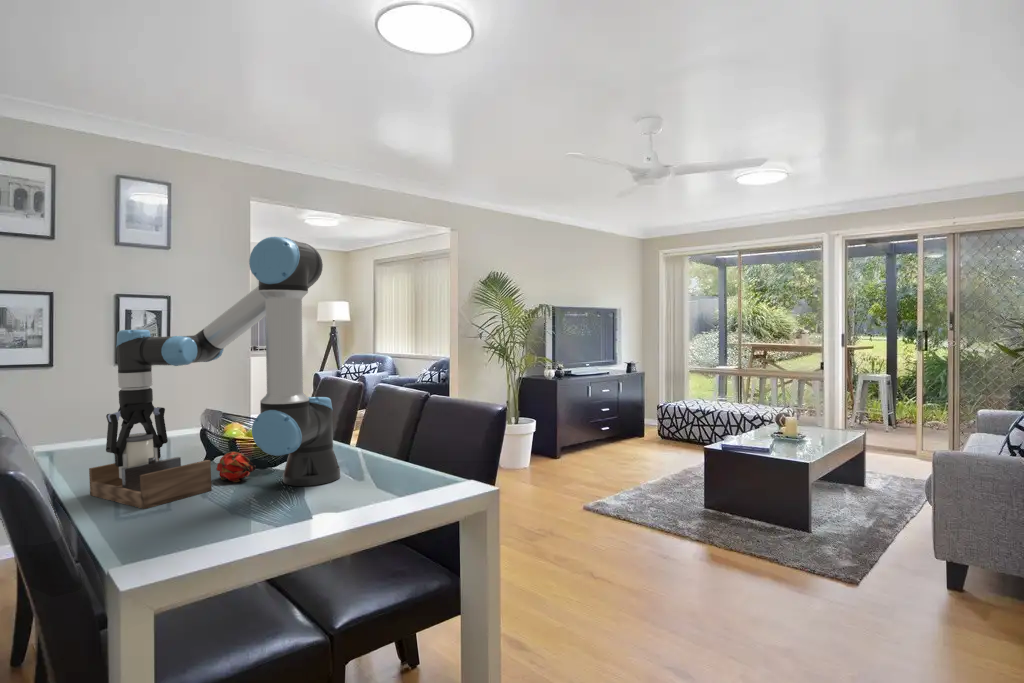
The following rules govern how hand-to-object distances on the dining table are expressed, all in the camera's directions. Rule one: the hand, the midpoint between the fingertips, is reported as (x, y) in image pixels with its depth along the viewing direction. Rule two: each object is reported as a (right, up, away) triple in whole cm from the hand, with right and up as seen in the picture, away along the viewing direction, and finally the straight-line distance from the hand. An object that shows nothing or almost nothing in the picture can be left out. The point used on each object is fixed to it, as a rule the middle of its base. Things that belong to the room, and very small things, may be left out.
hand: (139, 474), depth 156 cm
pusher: (+6, -3, -3) cm, 7 cm away
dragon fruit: (+21, -4, +9) cm, 24 cm away
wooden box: (+5, -4, -3) cm, 7 cm away
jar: (0, -2, 0) cm, 2 cm away
